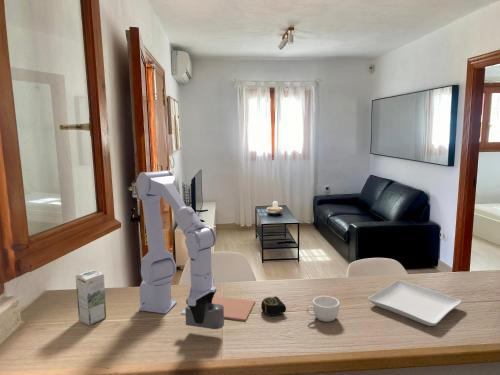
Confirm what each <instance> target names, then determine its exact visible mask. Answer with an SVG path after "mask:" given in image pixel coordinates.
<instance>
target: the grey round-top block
mask: <svg viewBox="0 0 500 375" xmlns="http://www.w3.org/2000/svg"><path fill="white" fill-rule="evenodd" d="M180 316H185V326H191V327H196V328H204V329H211V330H219V329H222V328H224V327H225V318H224V307H223V306H222V305H220V304H213V303H207V304H206V307H205V311H204V320H203V323H202V324H199V323H195V321H194V318H193V314H192V312H191V309H190V308H189V306H188V305H187V306H186V307H185V308H183V310H182V311H181V312H180Z"/></svg>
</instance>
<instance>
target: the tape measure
mask: <svg viewBox="0 0 500 375" xmlns="http://www.w3.org/2000/svg"><path fill="white" fill-rule="evenodd" d="M260 308H261V311H262V312H263V314H266V315H268V316H277V315H281V314H283V313H286V312H287V306H286V304H285V303H284V302H283V301H282V300H280V298H279V297H278V296H268V297H265V298H263V299H262V301H261V307H260Z"/></svg>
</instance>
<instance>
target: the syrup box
mask: <svg viewBox="0 0 500 375" xmlns="http://www.w3.org/2000/svg"><path fill="white" fill-rule="evenodd" d="M75 285H76V286H75V287H76V297H77V298H76V300H77V301H76V302H77V313H78V320H79V321H80V322H81V321H82V323H83V324H85V325H87V326H89V327H90V326H92V325H94V324H96V323H98V322H100V321H102V320H104V319H107V309H106V308H107V306H106V305H107V304H106V290H105V288H106V287H105V275H104V273H102V272H100V271H98V270H96V269H91V270H88V271H85V272H82V273H80V274H76V275H75Z"/></svg>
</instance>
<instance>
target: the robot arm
mask: <svg viewBox="0 0 500 375" xmlns="http://www.w3.org/2000/svg"><path fill="white" fill-rule="evenodd" d="M176 182H177V181H176V177H175V176H174V173H173V171H171V170H170V169H165V170H158V171H147V172H145V171H142V172H140V173H139V174H138V176H137V178H136V189H137V195H138V199H139V200H141V203H142V210H143V218H144V226H145V233H146V239H147V240H146V241H147V242H146V243H147V248H148V252H147V253H146V254H145V255H144V256H143V257H142V258H141V260H140V261H141V263H140V265H141V266H140V276H141V279H142V281H141V282H140V285H139V291H138V292H139V306H140V307H139V308H138V310H139V311H143V312H151V313H157V314H167V313H168V312H169V311H170V310H171V309H172V308H173V307H174V306H175V305H176V303H178V301H177V300H173V299H172V297H173V296H172V280H173V279H174V276H175V274H176V272H177V264H176V262H175V259H174V254H173V253H172V252H171V251H169V250H167V249H166V244H165V238H164V237H165V236H164V229H163V221H162V220H163V219H162V213H161V205H160V201H161V199H164V201H165V202H166V203H167V204H168V206H169V207H170V209H172V211H173V212H174V213H175V214H174V220H175V222H176V224H177V226H178V227H179V229H180V230H181V232H182V234H183V235H184V236H185V239H184V243H185V244H184V245H185V246H186V249H187V255H188V258H190V259H189V262H190V263H189V264H190V265H189V266H190V268H189V269H190V287H189V295H188V297H187V298H186V300H185V303H186V305H187V306H189V308H190V309H191V312H192V314H193V318H194V321H195V323H199V324H202V323H203V320H204V311H205V307H206V304H207V303H212V300H213V297H214V296H215V295H216V293H217V287H216V286H214V283H215V277H214V276H213V269H212V268H213V267H212V265H213V264H212V247H214V246H215V245H216V241H217V238H216V234H215V232H214V229H213V228H212V227H211V226H207V224H205V223H203V222H202V220H201V219H200V217H199V216H198V214H197V213H196V211H195V210H194V209H193V208H192V207H189V206H187V205H186V204H185V201H184V200H183V198H182V196H181V194H180V192H179V190H178V188H177V187H176V185H177V184H176Z"/></svg>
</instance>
